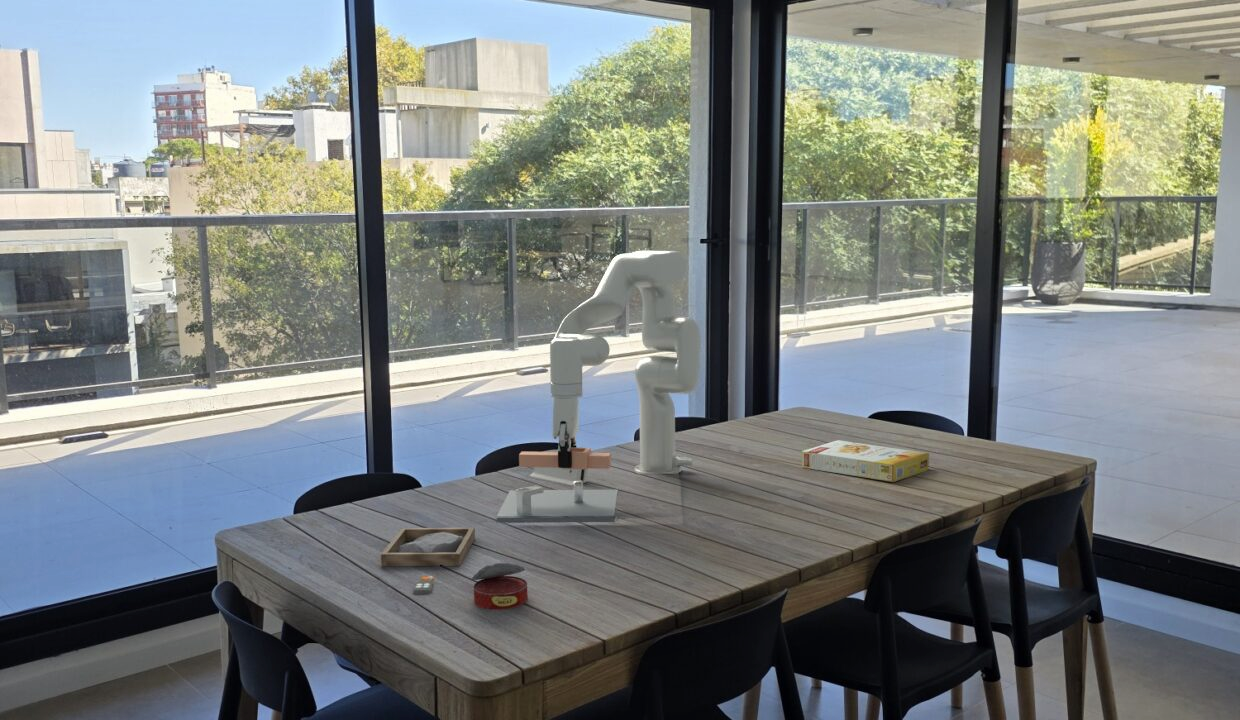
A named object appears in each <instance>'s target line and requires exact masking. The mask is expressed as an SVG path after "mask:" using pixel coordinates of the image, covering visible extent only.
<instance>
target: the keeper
mask: <svg viewBox="0 0 1240 720" xmlns="http://www.w3.org/2000/svg"><path fill="white" fill-rule="evenodd" d="M515 490H516V497H517V514H519V515H522V516H521V517H525V516H524V515H529V514H531V495H535V494H540V493H544V492H543V490H544V487H543V486H539V485H537V484H534V485H530V486H526V487H520V488H516V489H515Z"/></svg>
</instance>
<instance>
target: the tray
mask: <svg viewBox="0 0 1240 720" xmlns="http://www.w3.org/2000/svg"><path fill="white" fill-rule="evenodd" d="M475 531H476V529H475V527H414V528H413V527H402V528H401V529H400V530H398V532H397V534H396V535H395V536H394V537H393V538H392V540H391V541H390V542H389V543H388V545H386V548H384V550H383V551H382V552H381V553H380V561H381V562H380V563H381V567H441V566H440V565H443V566H442V567H460V566H461V565H462V563H463V561H464V559H465V558H466V556H467V554H468V553H469V551H470V549H471V548H472V545H473V544H474V542H475V540H474V539H476V535H475V534H476V533H475ZM441 532H445V533H451V534H454V535H457V536H462V537H463V541H462V542H461V544H460V546H459V547H458V549H457V551H456V552H436V553H399V550H400V549H399V548H400V546H401V545H402V544H403V543H404V544H405V542H406V541H405V540H416V539H418V538H420V537H423V536H425V535H428V534H434V533H441ZM404 541H405V542H404ZM397 551H398V552H397ZM427 565H428V566H427ZM429 565H430V566H429ZM432 565H433V566H432Z"/></svg>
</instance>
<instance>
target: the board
mask: <svg viewBox="0 0 1240 720" xmlns="http://www.w3.org/2000/svg"><path fill="white" fill-rule="evenodd" d="M618 490H619V489H583V502H582V503H575V502H574V489H543V492H544V493H540V494H535V495H531V514H529V515H524V516H522V515H519V514H517V497H516V489H515V490H509V491H508V494H507V496H506V497H505V499H504V501H503V503H502V505H501V507H500V509H499V511H498V513H497V514H496V523H497V522H501V524H502V522H504V523H505V524H513V523H514V524H517V523H518V524H520V523H521V524H522V523H523V524H524V523H525V522H527V524H529V523H532V524H533V523H534V524H535V523H536V524H537V523H614V522H615V519H616V517H615V513H616V505H617V499H618ZM506 522H507V523H506Z"/></svg>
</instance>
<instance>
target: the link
mask: <svg viewBox="0 0 1240 720" xmlns="http://www.w3.org/2000/svg"><path fill="white" fill-rule="evenodd" d="M591 449H592V448H591V447H585V446H584V447H578V446H576V447H571V448H570V451H572V467H571V468H562V469H586V470H587V471H588V469H594V470H595V469H598V470H599V469H602V470H604V469H605V470H609V469H610V468H611V465H612V464H611V463H612V460H611V459H612V457H611V456H612V454H611V452H592V450H591ZM518 463H519V464H518V466H519V468H535V467H549V468H559V467H558V452H543V451H520V453H519V454H518Z"/></svg>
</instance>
